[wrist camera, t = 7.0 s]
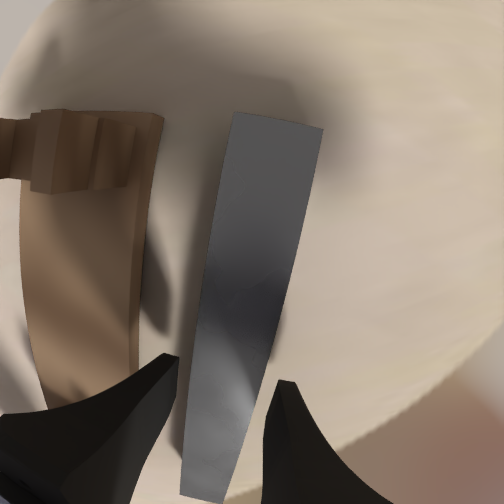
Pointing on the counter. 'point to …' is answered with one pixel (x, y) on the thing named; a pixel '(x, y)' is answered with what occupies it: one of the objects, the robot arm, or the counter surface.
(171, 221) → the counter surface
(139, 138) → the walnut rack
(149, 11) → the counter surface
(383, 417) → the counter surface
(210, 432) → the graphite rail
